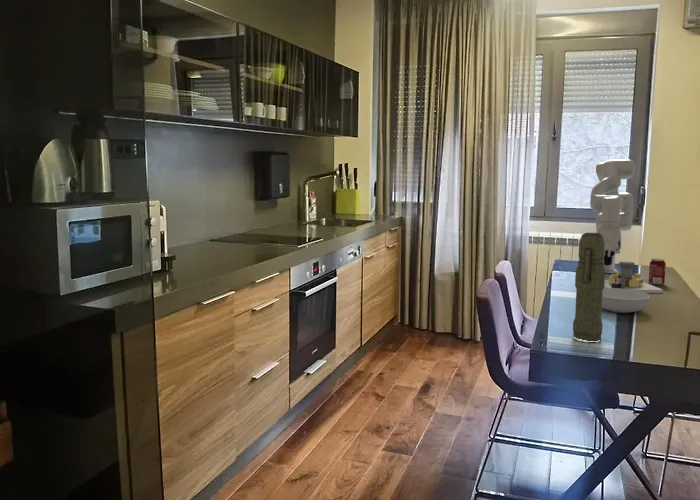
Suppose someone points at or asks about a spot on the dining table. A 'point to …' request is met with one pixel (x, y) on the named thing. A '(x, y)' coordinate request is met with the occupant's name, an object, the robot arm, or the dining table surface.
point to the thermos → (589, 288)
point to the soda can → (657, 271)
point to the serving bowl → (623, 300)
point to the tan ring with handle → (626, 280)
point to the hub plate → (626, 273)
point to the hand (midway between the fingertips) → (607, 264)
